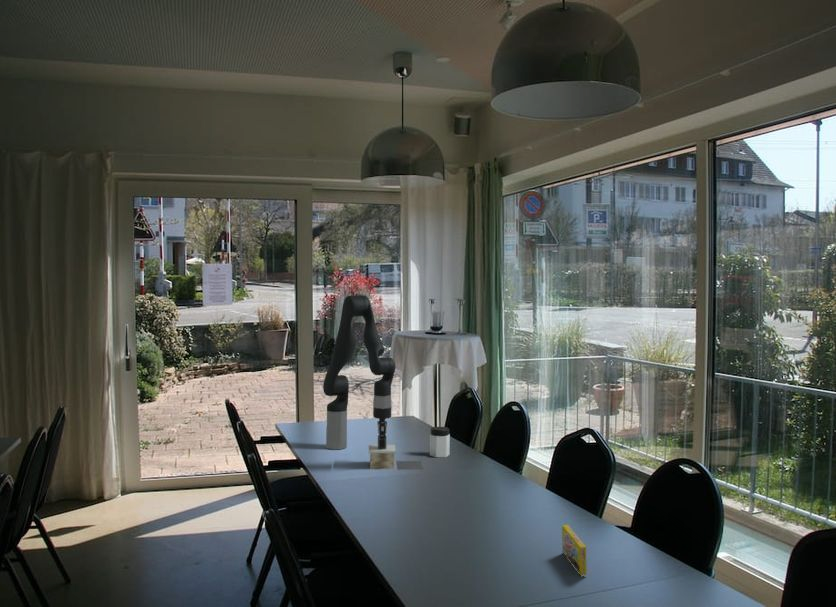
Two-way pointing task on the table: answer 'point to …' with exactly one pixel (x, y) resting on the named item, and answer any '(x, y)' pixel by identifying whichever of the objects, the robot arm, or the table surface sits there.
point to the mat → (409, 465)
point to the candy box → (574, 549)
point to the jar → (439, 442)
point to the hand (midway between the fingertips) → (382, 447)
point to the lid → (386, 450)
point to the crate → (381, 460)
